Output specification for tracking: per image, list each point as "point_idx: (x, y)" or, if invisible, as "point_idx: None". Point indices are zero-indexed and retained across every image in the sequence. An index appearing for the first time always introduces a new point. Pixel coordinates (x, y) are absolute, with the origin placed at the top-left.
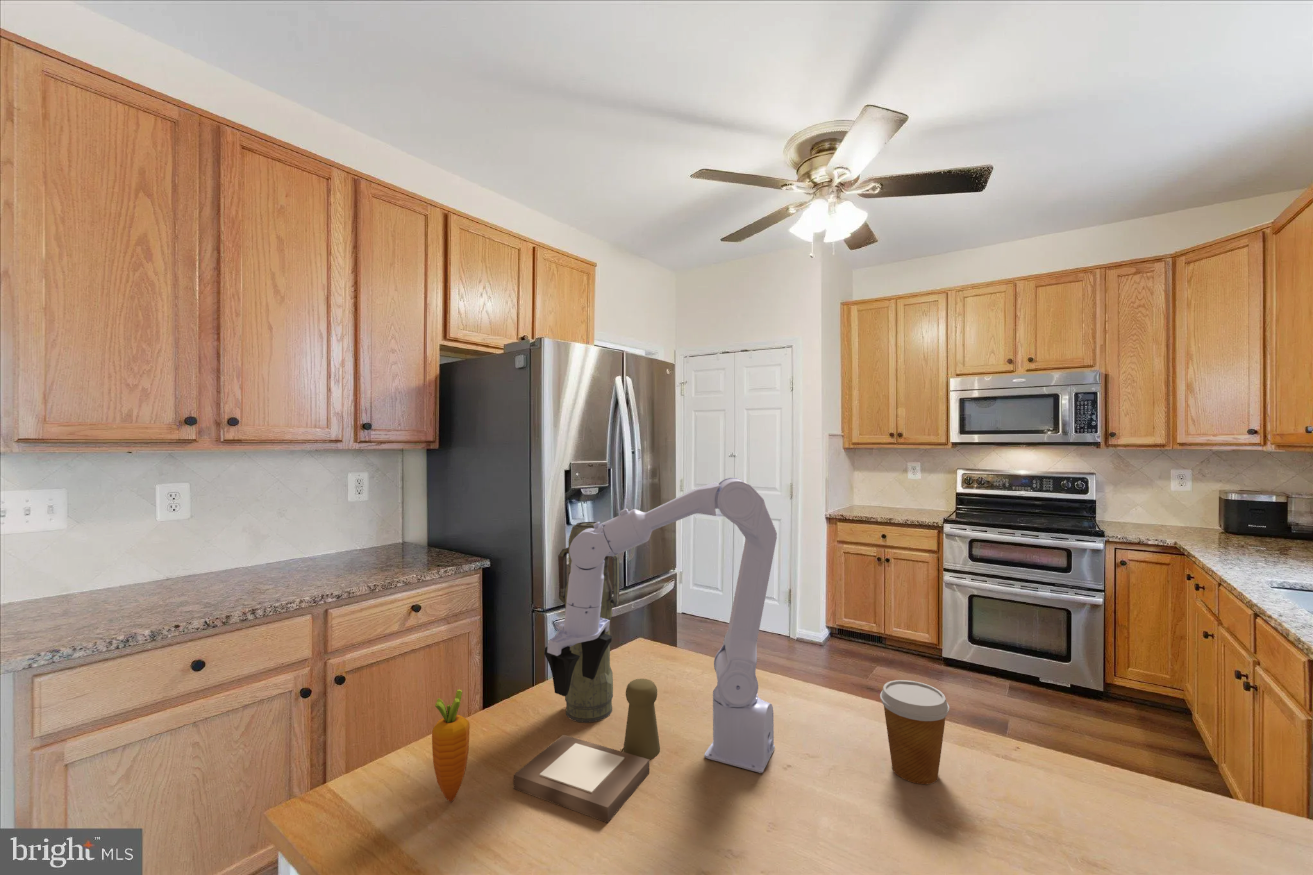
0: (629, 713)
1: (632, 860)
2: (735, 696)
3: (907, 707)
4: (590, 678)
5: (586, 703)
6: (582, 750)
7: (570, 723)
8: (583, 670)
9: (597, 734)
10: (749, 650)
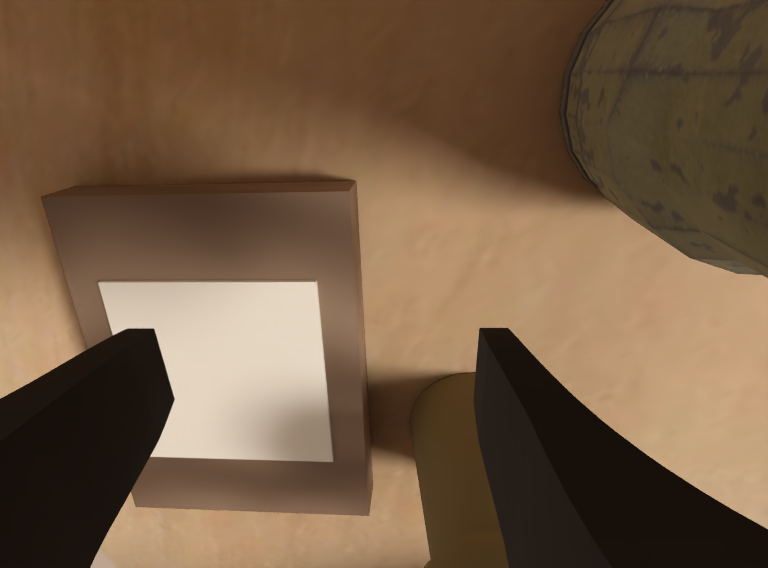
0: (438, 510)
1: (111, 551)
2: None
3: None
4: (476, 387)
5: (593, 169)
6: (291, 330)
7: (532, 84)
8: (486, 357)
9: (496, 249)
10: None
